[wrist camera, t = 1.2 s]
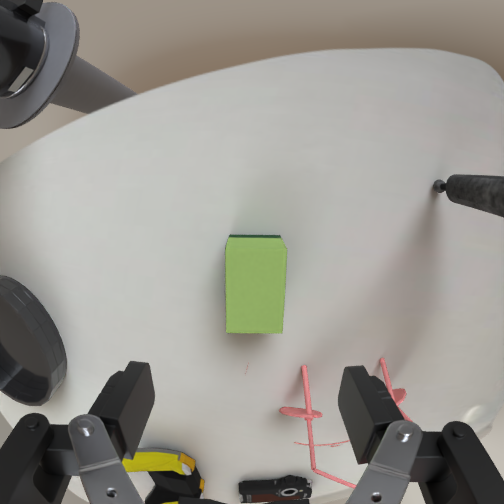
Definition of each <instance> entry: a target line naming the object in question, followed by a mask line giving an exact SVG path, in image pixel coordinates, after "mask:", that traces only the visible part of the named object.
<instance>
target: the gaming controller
mask: <svg viewBox="0 0 504 504" xmlns="http://www.w3.org/2000/svg"><path fill="white" fill-rule="evenodd" d="M122 464H123V466H124V468H125V470H126V472H139V471H148V473H149V475H150V476H151V478H152V479H153V481H154V482H155V486H154V487H153V489H152V490H151V492H150V493H149V494H148V496H147V497H146V499H145V504H178V499H179V496H181V497H190V498H199V499H204V497H203V494H202V493H203V491H204V480H203V479H201V477H200V475H199V473H198V471H197V468H196V466H195V460H194V459H192V458H190V457H188V456H187V455H186V454H184V453H183V452H179V451H174V450H169V449H161V448H137V450H136V453H135V456H134V458H133V460H130V459H125V458H123V461H122Z"/></svg>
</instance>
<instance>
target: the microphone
mask: <svg viewBox="0 0 504 504" xmlns="http://www.w3.org/2000/svg"><path fill="white" fill-rule="evenodd" d="M434 189H435V191H436V192H438V193H442V192H444V191H446V194H447V196H448V198H449V200H450V201H452V202H454V203H458V204H461V205H465V206H468V207H472V208H475V209H478V210H482V211H485V212H488V213H492V214H495V215H498V216H501V217H504V176H485V175H457V174H455V175H452V176H450V177H449V178H448V180H447V183H444V181H442V180H436V181H435V182H434Z"/></svg>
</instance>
